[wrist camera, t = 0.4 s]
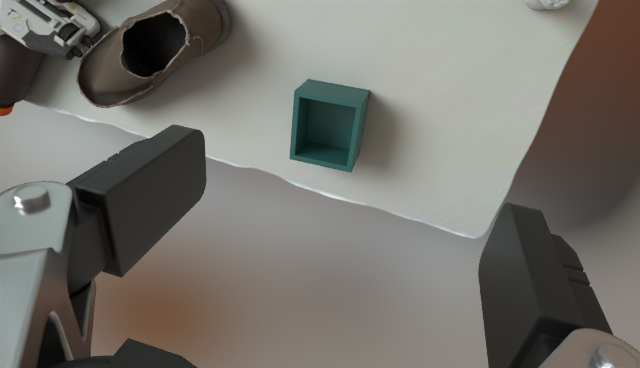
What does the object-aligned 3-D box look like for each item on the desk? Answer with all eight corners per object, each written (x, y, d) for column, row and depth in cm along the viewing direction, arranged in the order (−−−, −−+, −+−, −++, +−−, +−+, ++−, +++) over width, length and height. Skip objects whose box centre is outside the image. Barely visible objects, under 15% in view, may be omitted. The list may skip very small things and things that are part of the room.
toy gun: (36, 91, 58) (106, 21, 62) (-101, -4, 57) (-20, -68, 61) (48, 101, 61) (114, 35, 65) (-80, 13, 60) (-5, -49, 64)
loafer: (82, 60, 68) (28, 74, 59) (200, -44, 55) (154, -46, 46) (123, 114, 72) (77, 135, 63) (243, 28, 58) (208, 40, 49)
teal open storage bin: (308, 79, 60) (294, 90, 54) (370, 90, 58) (362, 103, 52) (302, 142, 65) (289, 159, 59) (358, 154, 63) (351, 172, 58)
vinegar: (-11, 18, 60) (-38, 101, 70) (32, 49, 63) (-1, 126, 73) (21, 7, 66) (-9, 86, 76) (60, 36, 68) (26, 109, 78)
